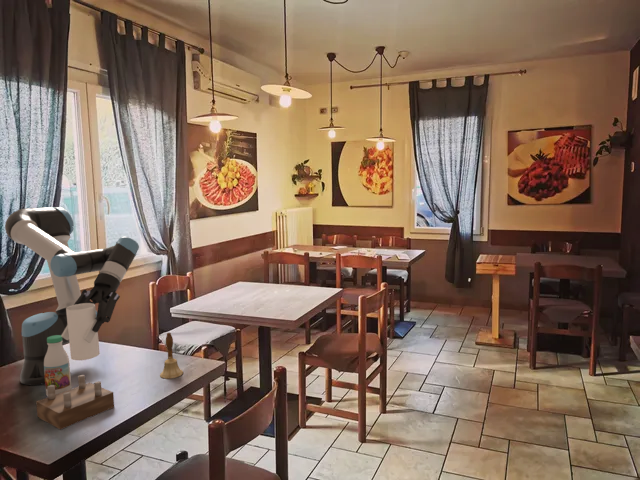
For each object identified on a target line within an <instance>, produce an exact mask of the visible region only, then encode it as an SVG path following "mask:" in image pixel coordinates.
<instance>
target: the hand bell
mask: <svg viewBox="0 0 640 480" xmlns="http://www.w3.org/2000/svg"><path fill="white" fill-rule="evenodd" d="M165 346H166V348H167V357H168V358H167V359H166V360H165V361H164V362H163V363H164V365H163V369H162V372H161V373H160V374H159V376H160V378H161V379H164V378H165V380H171V379H176V378H178V377H181V376H183V374H184V371H183V370H182V369H181V368H180V367H179V364H178V360H177V359H176V358H174V355H173V346H174V338H173V336H172V333H171V332H166V337H165Z"/></svg>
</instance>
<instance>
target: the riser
mask: <svg viewBox="0 0 640 480" xmlns="http://www.w3.org/2000/svg"><path fill="white" fill-rule="evenodd" d="M77 379H78V381H77V382H78V383H77V384H78V386H76V387H74V388H73V387H72V388H71V389H70V390H67V391H64V392H61V393H59V394H56V395H55V385H50V386H48V387H47V390H48V396H47V397H45V398H42V399H39V400H36V401H35V405H36V415H37V418H38V417H39V418H38V419H40V420H42V421H44V422H46V423H48V424H50V425H51V426H53V427H54V428H57V429H58V430H60V431H61V430H63V429H65V428H67V427H70V426H73V425H75V424H78V423H80V422H82V421H85V420H87V419H89V418H92V417H94V416H97V415H100V414H102V413H104V412H106V411H109V410H111V409H113V408H115V399H114V397H115V396H114V392H113V391H111V390H109V389H106V388H104V387H102V381H95V382H94V383H92V382H87V383H86V376H85V374H81V375H78V376H77Z"/></svg>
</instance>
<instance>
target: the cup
mask: <svg viewBox="0 0 640 480" xmlns="http://www.w3.org/2000/svg"><path fill="white" fill-rule="evenodd" d="M96 309H97V308H96V304H93V303H82V304H76V305H72V306H69V307H67V308H66V313H67V323H68V333H69V343H68V344H69V351H70V353H69V354H70V359H71V360H73V361H86V360H91V359H93V358H96V357H98V356H99V355H100V354H101V352H100V343H99V342H100V341H99V340H100V339H99V333H98V332H99V331H98V332H96V334H95V335H94V337H93V339H92V341H91V343H88V342H87V341H85V340H84V339H83V338H84V336H85V334H86V333H87V331H88V329H89V327H90V325H91V324H92V322H93V320H96V319H95V318H96V311H97V310H96ZM96 321H97V320H96Z"/></svg>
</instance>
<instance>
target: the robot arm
mask: <svg viewBox="0 0 640 480" xmlns="http://www.w3.org/2000/svg"><path fill="white" fill-rule="evenodd" d="M74 225H75V224H74V220H73V218H72V215H71V213H70V212H69V211H68V210H66V209H65V208H63V207H60V206H59V207H57V206H56V207H55V206H50V207H36V208H33V207H32V208H20V209H18V210H16V211H13V212H12V213H11V214H10V215H9V216H8V217H7V218H6V221H5V225H4V229H5V233H6V235H7V236H8V238H10V240H12V241H14V242H15V243H17V244H19V245H24V246H26V247H27V248H29V249H30V250H31V251H33V252H34V253H35V254H37V255H39V256H40V257H41V258H43V259H44V260H45V261H46V262H47V265H48V266H47V267H48V270H49V274H50V278H51V281H52V285H53V288H54V292H55V296H56V300H57V303H58V304H57V305H58V306H57V308H56V309H55V311H45V312H44V313H43V312H41V313H36V314H34V315H32V316H29V317H27V318H25V319H24V320H23V321H22V323H21V333H20V334H21V337H22V338H21V339H22V340H21V341H22V348H23V357H24V358H23V359H24V360H23V363H22V367H21V368H22V369H21V371H20V375H19V377H20V383H21V384H22V385H26V386H38V385H39V386H40V385H41V386H42V385H45V375H44V358H45V355H46V353H47V350H48V344H47V338H48V337H50V336H54V335H61V337H62V341H63V342H62V346H64V345H66V344H70V343H69V333H68V323H67V313H66V308H67V307H69V306H72V305H76V304H82V303H93V304H95V305H96V304H98V305H97V310H96V318H95V319H96V320H97V321H96V320H93V322H92V324H91V325H90V327H89V329H88V331H87V333H86V334H85V336H84V338H83V339H84V340H85V341H87V342H88V343H91V341H92V339H93V337H94V335H95V334H96V332H99V331H100V328H101V326H102V325H103V324H104V323H109V322H110V321H111V319H112V315H113V313H114V310H115V308H116V305H117V302H118V300H119V299H120V297H121V296H120V295H119V294H118V293H117V291H118V288H119V287H120V285H121V282H122V281H123V279H124V277H125V276H126V273H127V272H128V270H129V269H130V266H131V264H132V263H133V261H134V259H135V257H136V256H137V253H138V252H139V248H140V245H139V243H138V242H137V241H136V240H134V239H133V238H132V237H128V236H121V237H120V238H118V240H117V241H116V242H115V244H114V245H112V246H108V247H105V248H98V249H93V250H92V249H91V250H90V249H89V250H83V251H77V252H76V251H74V250H72V249H71V248H70V247H69V243H68V242H69V240H70V239H71V234H72V233H73V231H74ZM94 272H99V273H98V274H97V276H96V277H95V279H94V281H93V287H92V288H91V289H90V290H87V289H82V290H81V289H80V285H79V280H78V277H77V275H83V274H89V273H94ZM81 291H82V292H81Z"/></svg>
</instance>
